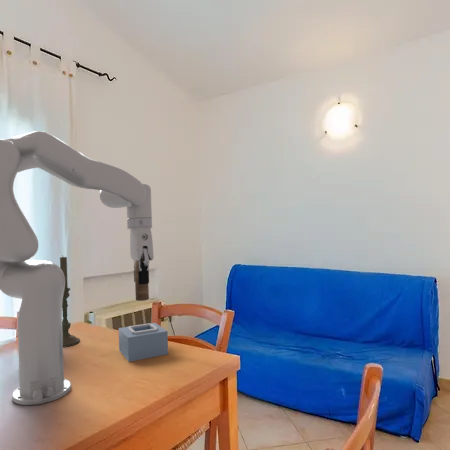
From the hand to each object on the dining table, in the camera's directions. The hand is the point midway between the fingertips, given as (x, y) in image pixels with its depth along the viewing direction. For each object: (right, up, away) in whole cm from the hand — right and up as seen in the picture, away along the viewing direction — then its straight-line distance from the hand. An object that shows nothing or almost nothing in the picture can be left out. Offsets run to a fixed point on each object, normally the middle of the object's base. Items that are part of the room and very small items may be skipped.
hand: (141, 282), depth 119 cm
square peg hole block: (+1, -22, 0) cm, 22 cm away
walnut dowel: (0, -5, 0) cm, 5 cm away
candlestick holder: (-28, -23, +12) cm, 38 cm away
